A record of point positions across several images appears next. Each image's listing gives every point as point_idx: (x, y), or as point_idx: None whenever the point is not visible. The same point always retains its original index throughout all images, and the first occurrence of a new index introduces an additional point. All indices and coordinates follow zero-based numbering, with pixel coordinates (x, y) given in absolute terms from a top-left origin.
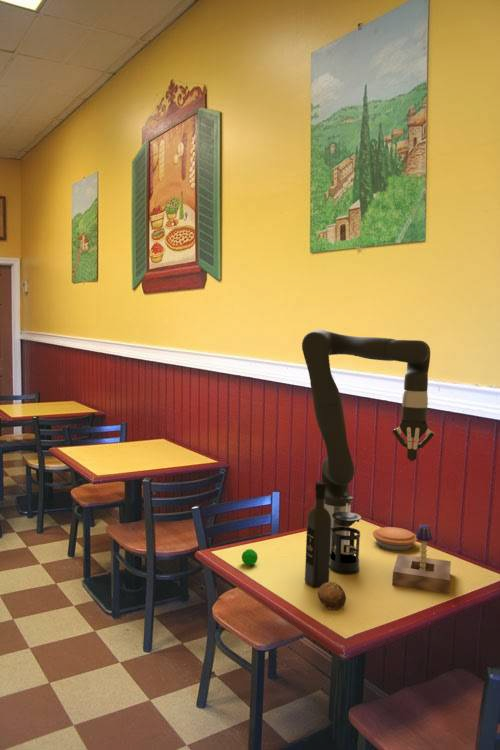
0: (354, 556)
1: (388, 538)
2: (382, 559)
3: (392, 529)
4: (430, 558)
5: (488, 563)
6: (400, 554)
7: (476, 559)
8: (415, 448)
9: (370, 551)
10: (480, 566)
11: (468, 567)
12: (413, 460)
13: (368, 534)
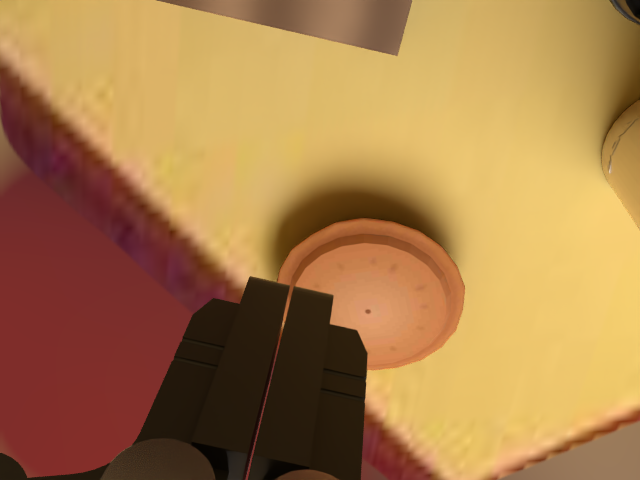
0: (631, 7)
1: (407, 247)
2: (452, 109)
3: (374, 335)
4: (245, 18)
5: (18, 141)
6: (387, 46)
7: (63, 175)
8: (159, 463)
9: (487, 193)
10: (47, 102)
11: (93, 82)
12: (259, 279)
13: (455, 363)
